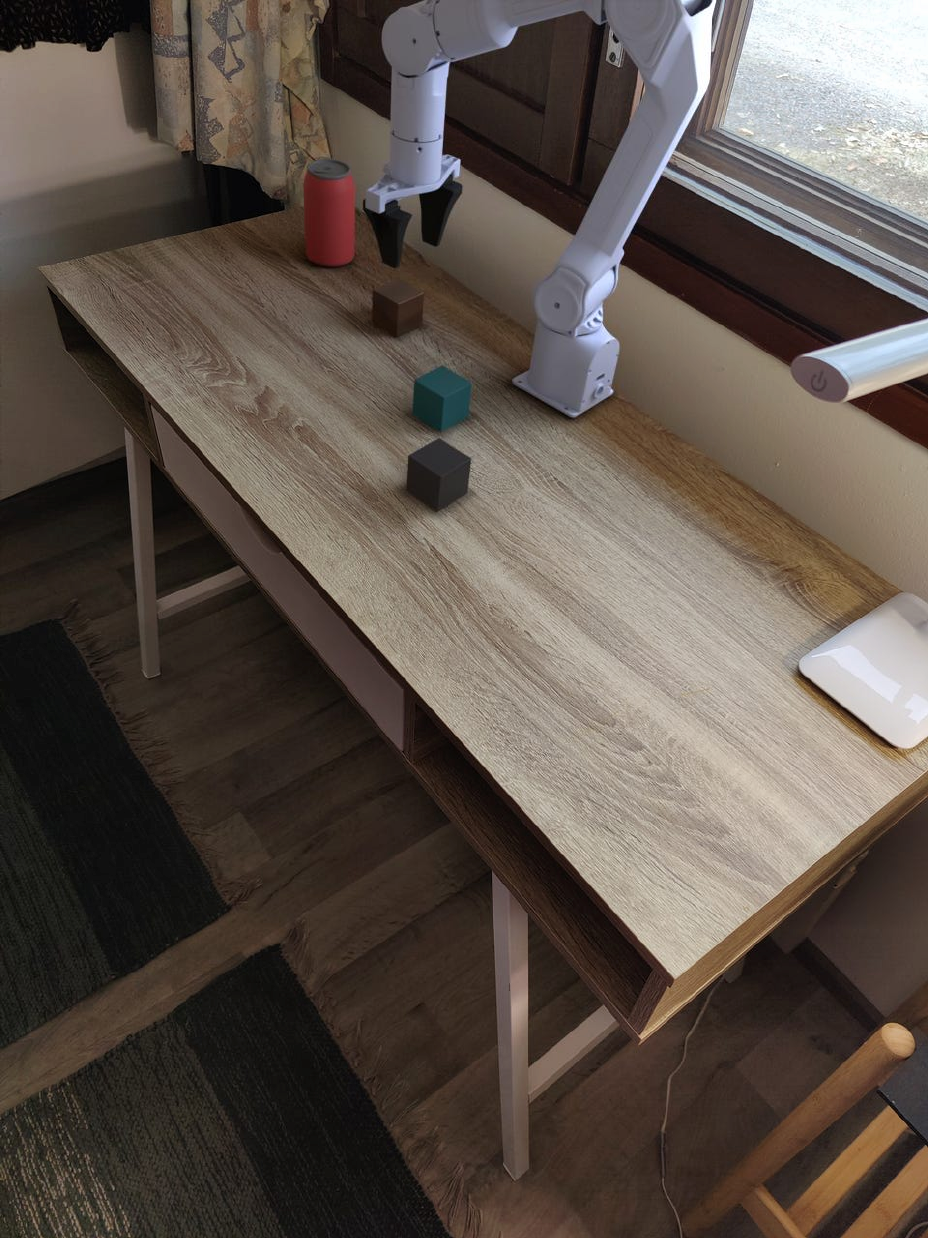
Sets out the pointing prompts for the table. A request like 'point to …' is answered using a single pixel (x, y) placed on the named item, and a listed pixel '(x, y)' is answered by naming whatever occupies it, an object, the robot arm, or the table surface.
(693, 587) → the table surface
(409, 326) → the walnut block
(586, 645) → the table surface
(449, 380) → the teal block
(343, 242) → the beer can
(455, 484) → the charcoal block
